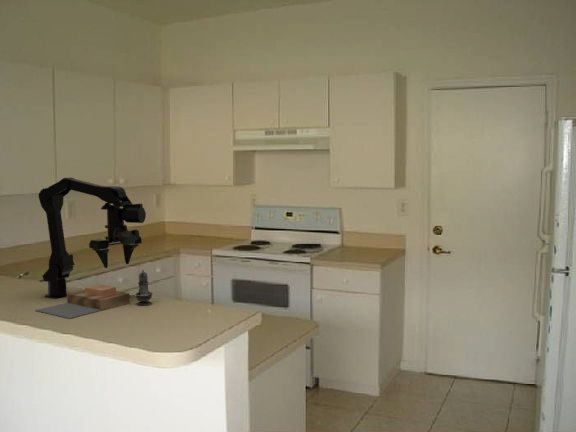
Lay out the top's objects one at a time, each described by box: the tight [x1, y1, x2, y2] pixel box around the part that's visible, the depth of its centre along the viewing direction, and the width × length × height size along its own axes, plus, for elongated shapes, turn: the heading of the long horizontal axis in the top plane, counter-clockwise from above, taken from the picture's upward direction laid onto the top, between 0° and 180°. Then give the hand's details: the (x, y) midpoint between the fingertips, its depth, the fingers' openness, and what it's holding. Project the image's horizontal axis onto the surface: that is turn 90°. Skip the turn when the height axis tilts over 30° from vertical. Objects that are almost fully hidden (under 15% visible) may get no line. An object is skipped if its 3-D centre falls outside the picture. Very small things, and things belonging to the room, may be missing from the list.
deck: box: [66, 289, 131, 312], centre depth 201 cm, size 18×12×4 cm, turn 56°
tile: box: [84, 283, 117, 296], centre depth 201 cm, size 9×6×2 cm, turn 56°
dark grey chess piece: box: [134, 269, 153, 307], centre depth 199 cm, size 6×6×12 cm
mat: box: [35, 302, 102, 320], centre depth 191 cm, size 18×12×1 cm, turn 56°
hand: (116, 265), depth 206 cm, fingers open, 9 cm apart
